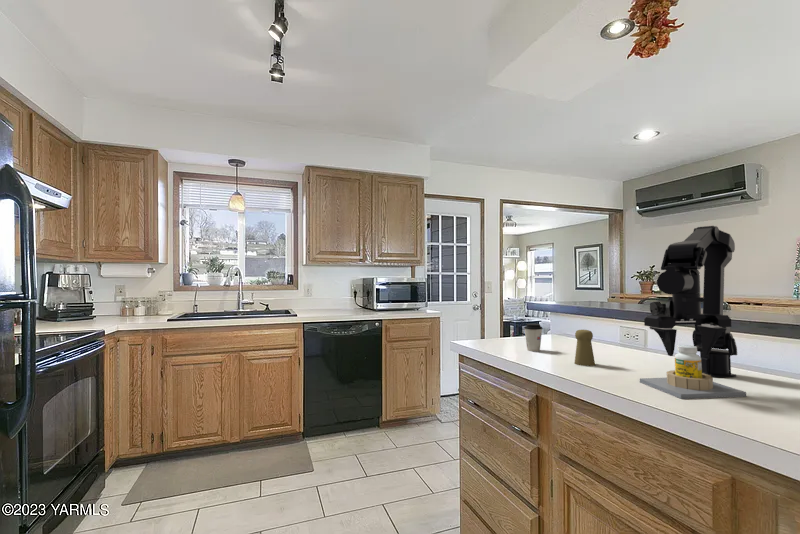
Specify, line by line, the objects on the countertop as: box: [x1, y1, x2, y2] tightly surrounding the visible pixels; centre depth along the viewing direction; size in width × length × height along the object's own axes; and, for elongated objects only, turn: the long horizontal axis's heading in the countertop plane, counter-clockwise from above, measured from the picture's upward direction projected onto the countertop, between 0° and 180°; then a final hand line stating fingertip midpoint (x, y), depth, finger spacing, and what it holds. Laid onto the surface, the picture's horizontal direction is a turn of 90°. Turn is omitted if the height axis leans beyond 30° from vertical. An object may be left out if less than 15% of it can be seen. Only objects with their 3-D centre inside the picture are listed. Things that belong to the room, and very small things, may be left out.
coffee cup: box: [523, 323, 543, 352], centre depth 148 cm, size 7×7×10 cm
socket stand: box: [639, 369, 747, 400], centre depth 96 cm, size 16×14×4 cm
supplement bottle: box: [674, 344, 702, 378], centre depth 97 cm, size 5×5×10 cm
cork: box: [574, 329, 596, 367], centre depth 125 cm, size 6×6×11 cm
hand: (688, 355), depth 96 cm, fingers open, 9 cm apart
